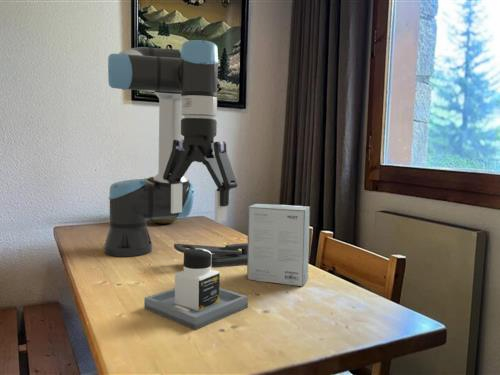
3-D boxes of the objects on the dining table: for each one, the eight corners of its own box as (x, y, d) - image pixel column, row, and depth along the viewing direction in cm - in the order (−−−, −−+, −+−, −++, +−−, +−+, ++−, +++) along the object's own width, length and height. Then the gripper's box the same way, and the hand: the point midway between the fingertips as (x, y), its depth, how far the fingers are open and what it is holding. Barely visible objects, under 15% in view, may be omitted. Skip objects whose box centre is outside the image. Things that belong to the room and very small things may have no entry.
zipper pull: (171, 242, 130) (246, 236, 142) (170, 264, 131) (246, 256, 142) (180, 249, 122) (260, 242, 134) (180, 273, 123) (259, 263, 134)
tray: (144, 308, 96) (144, 297, 96) (197, 290, 109) (197, 280, 109) (195, 329, 86) (195, 317, 86) (247, 307, 99) (247, 296, 98)
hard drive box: (308, 278, 120) (311, 206, 118) (302, 287, 113) (305, 210, 111) (254, 272, 125) (256, 202, 123) (245, 279, 118) (247, 206, 116)
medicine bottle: (199, 312, 93) (199, 256, 91) (173, 304, 96) (174, 251, 95) (219, 302, 98) (220, 249, 97) (195, 295, 102) (195, 244, 101)
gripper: (147, 116, 98) (147, 211, 101) (231, 116, 82) (228, 228, 85) (173, 118, 104) (172, 207, 106) (256, 118, 88) (253, 223, 91)
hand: (197, 217), depth 96 cm, fingers open, 13 cm apart
